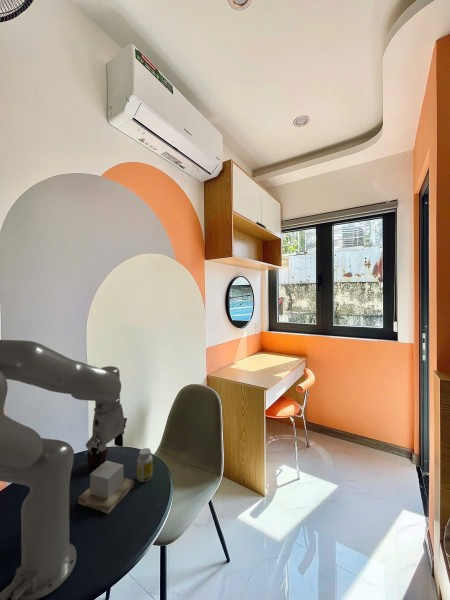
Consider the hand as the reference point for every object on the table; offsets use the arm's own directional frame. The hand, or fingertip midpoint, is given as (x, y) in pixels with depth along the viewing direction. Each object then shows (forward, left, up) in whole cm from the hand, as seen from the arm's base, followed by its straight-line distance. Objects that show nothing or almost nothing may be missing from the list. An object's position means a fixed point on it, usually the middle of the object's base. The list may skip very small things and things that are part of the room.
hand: (108, 453), depth 87 cm
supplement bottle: (+10, -7, -14) cm, 19 cm away
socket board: (-1, 0, -13) cm, 13 cm away
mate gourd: (+10, +15, -14) cm, 23 cm away
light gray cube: (-1, 0, -11) cm, 11 cm away
